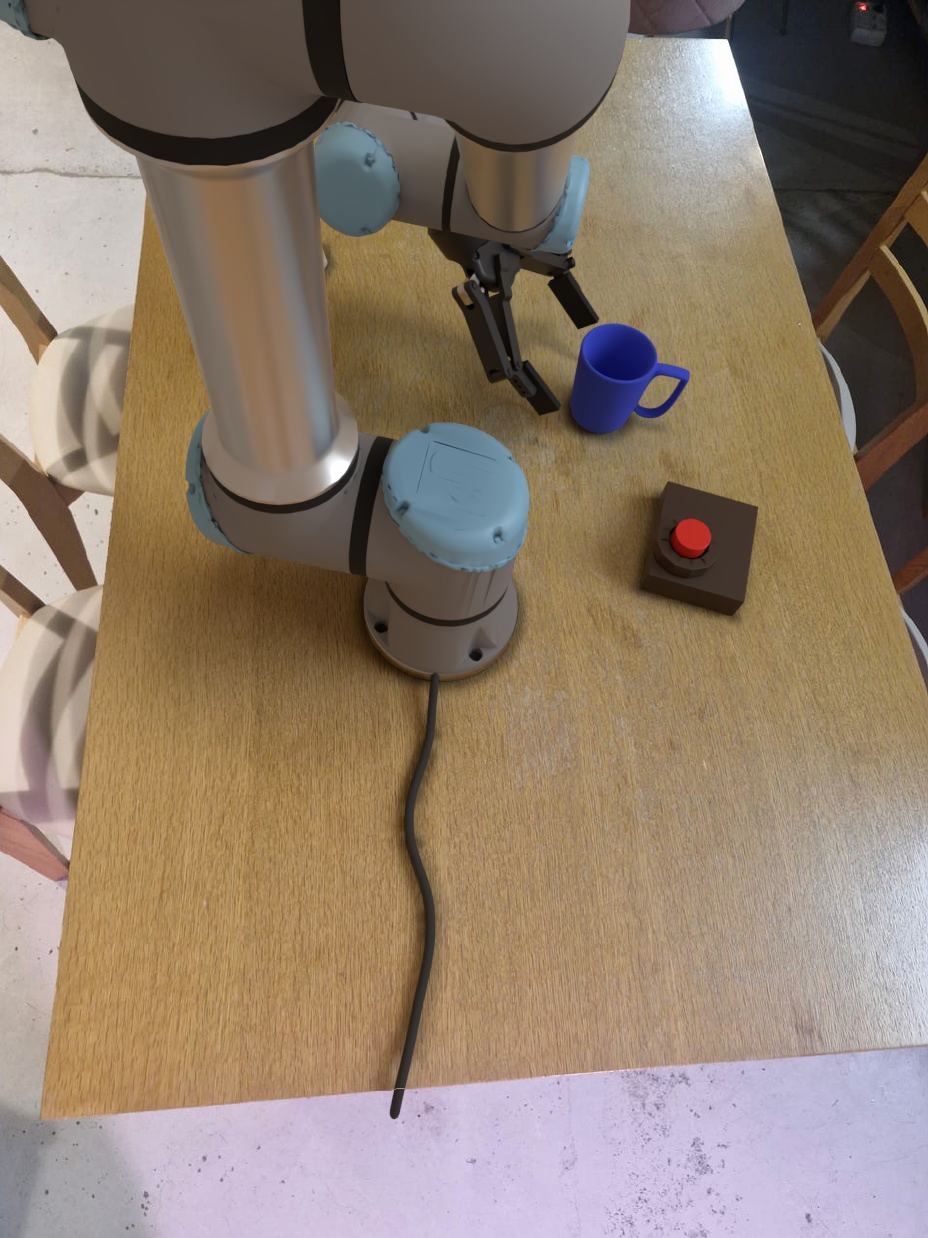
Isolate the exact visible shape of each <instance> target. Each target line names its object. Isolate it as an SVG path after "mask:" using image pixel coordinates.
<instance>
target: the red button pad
mask: <svg viewBox="0 0 928 1238" xmlns="http://www.w3.org/2000/svg"><path fill="white" fill-rule="evenodd" d="M758 513H759V506H756V505H753V504H750V503H747V502H744V501H743V502H742V501H740V500H736V499H733V498H729V497H726V496H722V495H719V494H715V493H711V492H708V491H704V490H702V489H699V488H698V489H697V488H694V487H690V486H687V485H683V484H680V483H676V482H673V481H669V480H667V482H666V484H665V485H664V487H663V489H662V491H661V493H660V495H659V497H658V500H657V505H656V509H655V515H654V519H653V524H652V529H651V534H650V538H649V542H648V547H647V552H646V556H645V562H644V566H643V571H642V576H641V580H640V584H639V590H641V591H642V590H643V591H646V592H650V593H653V594H656V595H659V596H663V597H667V598H671V599H674V600H677V601H680V602H683V603H687V604H691V605H694V606H696V607H697V606H698V607H702V608H704V609H708V610H712V611H715V612H717V613H721V614H725V615H728V616H731V617H732V616H734V615H735V614H736V612H737V611H738V610H739V609H740V608H741V607H742V606H743V604H744V603H745V600H746V595H747V594H746V593H747V587H748V579H749V573H750V566H751V560H752V554H753V553H752V552H753V547H754V540H755V533H756V527H757V521H758ZM686 519H695V520H698V521H701V522H702V523H704V524H705V525H706V526H707V527H708V529H709V531H710V533H711V541H710V543H709V545H708V546H707V548H706V549H705V551H704V552H703V553H702V554H701V555H700V556H698V557H695V558H686V557H683V556H681V555H679V554H678V553H677V552H675V550H674V549H673V547H672V545H671V535H672V533H673V532H674V530H675V528H676V527H677V525H678V524H679V523H680V522H681V521H683V520H686Z"/></svg>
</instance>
